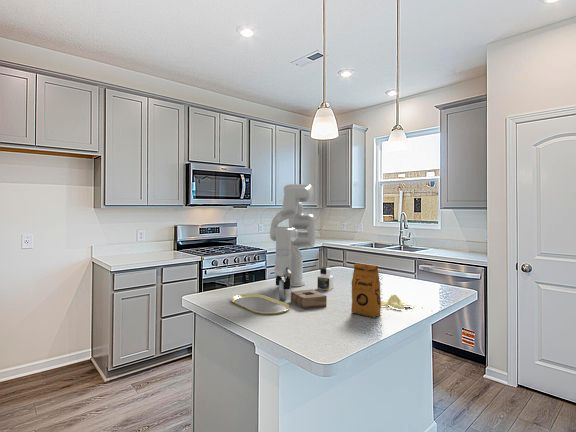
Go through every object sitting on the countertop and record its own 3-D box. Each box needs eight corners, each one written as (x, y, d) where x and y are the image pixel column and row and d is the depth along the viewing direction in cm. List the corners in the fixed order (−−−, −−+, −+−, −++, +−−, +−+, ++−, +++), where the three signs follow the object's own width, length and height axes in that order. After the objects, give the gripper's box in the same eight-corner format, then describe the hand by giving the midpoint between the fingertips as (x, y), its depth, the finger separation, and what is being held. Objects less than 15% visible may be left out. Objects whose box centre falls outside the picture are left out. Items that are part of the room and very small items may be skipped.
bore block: (290, 301, 171) (290, 291, 171) (312, 298, 176) (312, 289, 176) (303, 309, 159) (303, 298, 158) (326, 306, 164) (326, 295, 164)
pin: (278, 300, 174) (278, 280, 173) (284, 299, 175) (284, 279, 175) (280, 301, 170) (281, 281, 170) (287, 301, 172) (287, 281, 172)
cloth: (363, 305, 167) (364, 293, 167) (387, 299, 179) (387, 287, 179) (404, 317, 150) (405, 303, 150) (427, 310, 161) (427, 297, 161)
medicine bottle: (317, 289, 198) (317, 268, 198) (321, 286, 204) (322, 266, 204) (329, 290, 195) (329, 269, 194) (333, 288, 201) (333, 267, 200)
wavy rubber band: (264, 319, 146) (264, 315, 146) (224, 300, 173) (224, 297, 173) (298, 311, 157) (298, 307, 157) (255, 295, 185) (255, 292, 185)
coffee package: (374, 320, 145) (375, 267, 144) (348, 314, 152) (348, 264, 152) (384, 314, 152) (385, 264, 152) (358, 308, 160) (359, 261, 160)
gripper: (269, 251, 178) (269, 284, 178) (283, 255, 163) (282, 291, 163) (283, 250, 181) (282, 283, 181) (297, 254, 166) (297, 290, 166)
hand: (282, 287), depth 172 cm, fingers open, 9 cm apart
